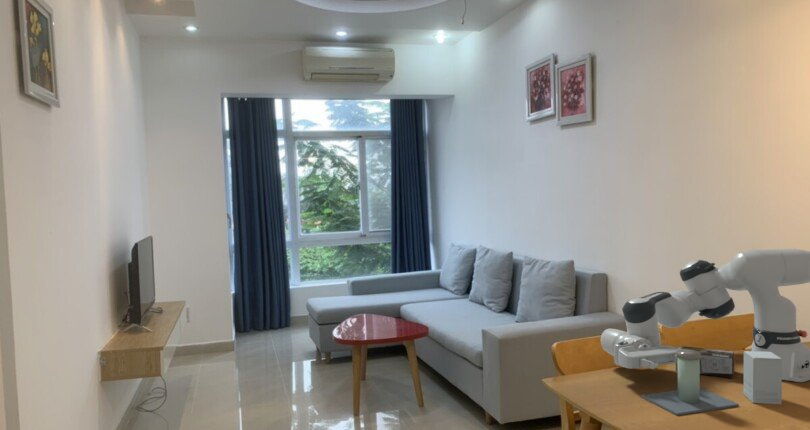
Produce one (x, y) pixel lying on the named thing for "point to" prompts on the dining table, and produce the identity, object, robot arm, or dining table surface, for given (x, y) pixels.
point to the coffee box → (714, 362)
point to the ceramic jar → (688, 375)
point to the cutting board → (678, 407)
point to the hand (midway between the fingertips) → (669, 364)
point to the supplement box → (762, 377)
